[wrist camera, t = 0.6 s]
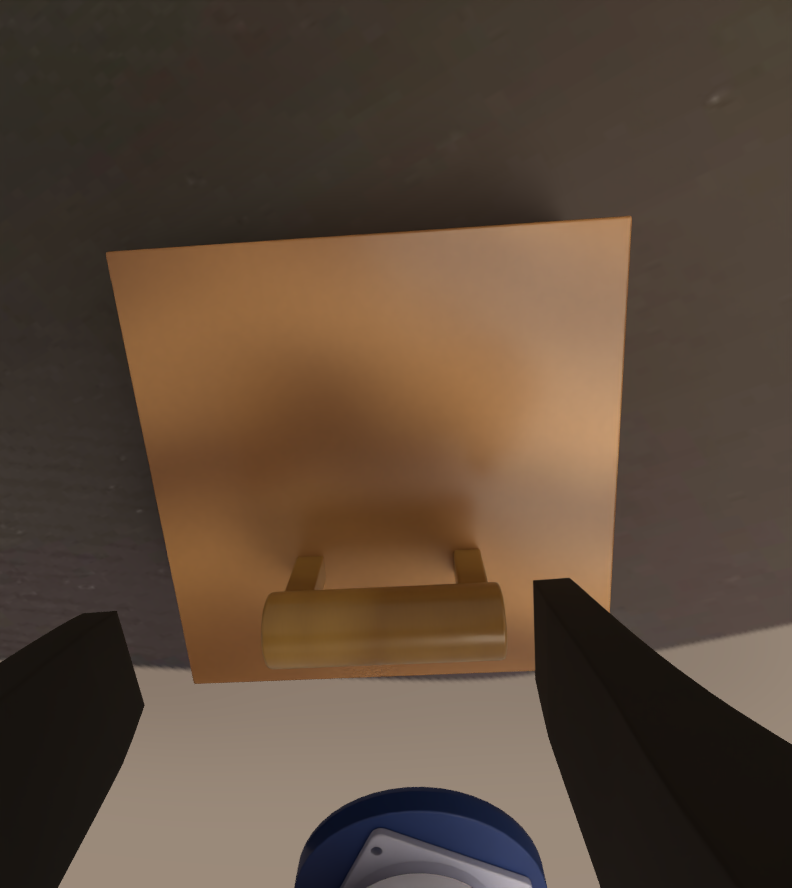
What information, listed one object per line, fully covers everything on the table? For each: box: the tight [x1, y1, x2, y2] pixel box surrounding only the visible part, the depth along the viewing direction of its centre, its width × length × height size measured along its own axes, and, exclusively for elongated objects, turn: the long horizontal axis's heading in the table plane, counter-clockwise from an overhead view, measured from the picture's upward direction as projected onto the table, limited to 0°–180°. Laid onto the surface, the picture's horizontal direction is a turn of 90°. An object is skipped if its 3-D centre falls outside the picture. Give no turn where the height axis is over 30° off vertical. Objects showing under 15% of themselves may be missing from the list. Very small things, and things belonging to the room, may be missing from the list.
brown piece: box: [106, 216, 632, 684], centre depth 13 cm, size 12×11×4 cm
